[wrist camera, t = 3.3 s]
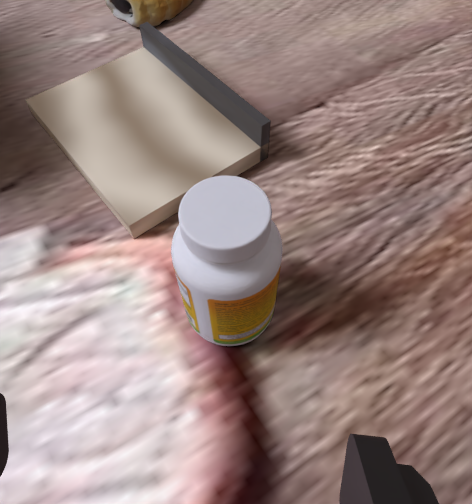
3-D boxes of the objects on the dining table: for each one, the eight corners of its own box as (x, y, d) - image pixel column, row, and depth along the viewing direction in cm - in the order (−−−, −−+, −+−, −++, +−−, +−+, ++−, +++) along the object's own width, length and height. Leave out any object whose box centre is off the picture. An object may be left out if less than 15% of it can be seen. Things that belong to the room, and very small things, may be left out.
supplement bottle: (289, 291, 27) (310, 190, 19) (246, 365, 24) (250, 286, 16) (215, 255, 28) (205, 146, 20) (169, 321, 26) (135, 228, 18)
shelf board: (157, 57, 40) (150, 20, 37) (270, 155, 33) (273, 119, 30) (32, 114, 36) (14, 78, 33) (133, 238, 29) (121, 206, 26)
